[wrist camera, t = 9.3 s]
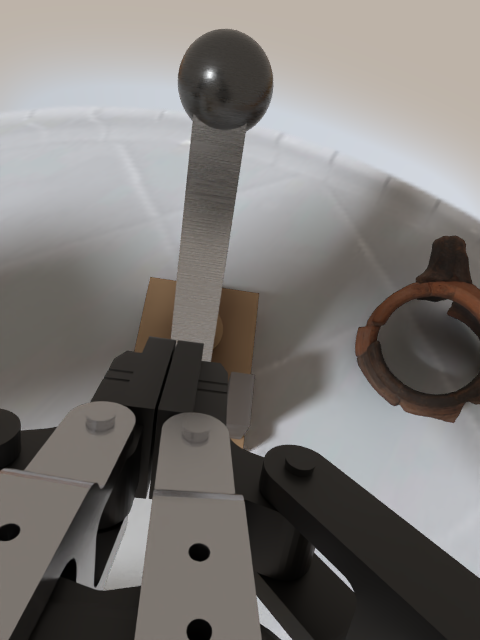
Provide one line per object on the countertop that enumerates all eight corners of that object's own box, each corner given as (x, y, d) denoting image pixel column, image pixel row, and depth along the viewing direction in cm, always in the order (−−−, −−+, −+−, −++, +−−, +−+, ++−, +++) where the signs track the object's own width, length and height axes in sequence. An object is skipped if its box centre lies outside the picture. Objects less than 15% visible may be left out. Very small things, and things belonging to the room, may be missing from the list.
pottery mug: (504, 423, 31) (531, 430, 24) (361, 413, 35) (344, 416, 27) (500, 253, 33) (523, 208, 25) (365, 259, 36) (349, 221, 29)
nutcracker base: (121, 443, 27) (104, 422, 21) (152, 294, 31) (145, 242, 25) (237, 458, 28) (252, 441, 22) (253, 309, 32) (269, 261, 26)
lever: (142, 439, 23) (176, 13, 15) (155, 396, 26) (188, 26, 18) (213, 449, 23) (285, 34, 15) (217, 404, 27) (278, 42, 18)
